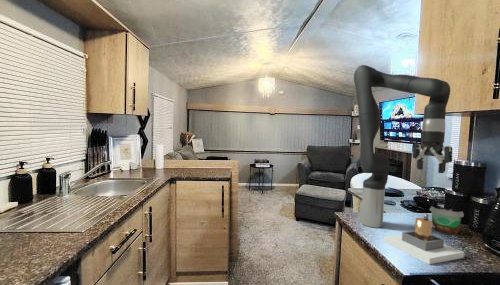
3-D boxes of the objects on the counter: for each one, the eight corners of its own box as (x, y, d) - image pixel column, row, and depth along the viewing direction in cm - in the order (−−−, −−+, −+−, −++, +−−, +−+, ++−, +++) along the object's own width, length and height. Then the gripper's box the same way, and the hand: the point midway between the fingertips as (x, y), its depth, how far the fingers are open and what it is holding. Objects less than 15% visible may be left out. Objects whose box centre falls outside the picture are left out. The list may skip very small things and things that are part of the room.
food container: (428, 230, 117) (430, 208, 117) (428, 226, 122) (430, 205, 122) (464, 237, 110) (466, 214, 110) (462, 233, 115) (464, 210, 115)
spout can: (411, 242, 98) (412, 213, 98) (420, 240, 100) (422, 212, 100) (424, 247, 94) (426, 217, 93) (433, 245, 96) (435, 216, 95)
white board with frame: (384, 241, 103) (385, 229, 103) (415, 237, 109) (416, 225, 108) (429, 264, 86) (430, 249, 86) (463, 257, 92) (464, 243, 91)
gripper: (409, 129, 110) (407, 168, 110) (445, 130, 96) (441, 174, 97) (422, 130, 112) (420, 168, 113) (459, 131, 99) (455, 174, 100)
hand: (430, 171), depth 105 cm, fingers open, 8 cm apart
